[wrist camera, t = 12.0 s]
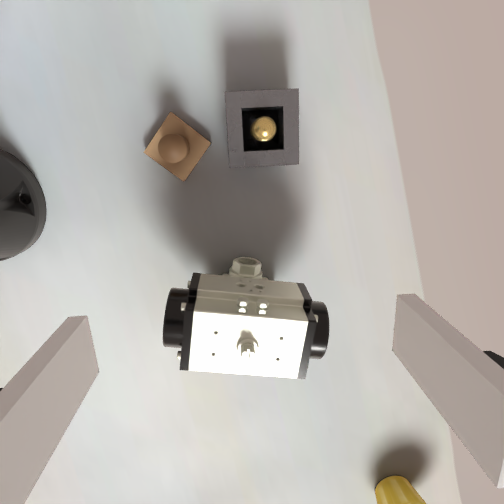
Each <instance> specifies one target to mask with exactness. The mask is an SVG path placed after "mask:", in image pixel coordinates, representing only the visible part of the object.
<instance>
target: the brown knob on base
mask: <svg viewBox="0 0 504 504" xmlns="http://www.w3.org/2000/svg"><path fill="white" fill-rule="evenodd" d="M210 144H211V142H210V141H208V140H207V139H206V138H204V137H203V136H202V135H201V134H199V133H198V132H197V131H195V130H194V129H193V128H192V127H190V126H189V125H188V124H186V123H185V122H184V121H183V120H181V119H180V118H179V117H177V116H176V115H175V114H174V113H172V112H170V113H169V115H168V116H167V118H166V119H165V121H164V122H163V124H162V125H161V127H160V128H159V130H158V131H157V133H156V134H155V136H154V137H153V139H152V140H151V142H150V144H149V145H148V147H147V148H146V150H145V151H144V153H145V154H146V155H148V156H149V157H151V158H152V159H153V160H155V161H156V162H157V163H159V164H160V165H161V166H163V167H164V168H166V169H167V170H168V171H170V172H171V173H172V174H174V175H175V176H177V177H178V178H179V179H181V180H182V181H183V182H184V181H185V180H186V179H187V177H188V176H189V174H190V173H191V171H192V170H193V169H194V167H195V166H196V164H197V163H198V161H199V160H200V159H201V157H202V156H203V154H204V153H205V151H206V150H207V149H208V147H209V146H210Z"/></svg>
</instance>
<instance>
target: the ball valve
mask: <svg viewBox="0 0 504 504" xmlns="http://www.w3.org/2000/svg"><path fill="white" fill-rule="evenodd" d="M262 275H263V272H262V271H261V262H260V261H258V260H257V259H254V258H250V257H238V258H236V259H234V260H233V265H232V267H230V270H229V274H226V273H223V275H212V274H202V273H193V276H192V279H191V281H188V288H189V289H182V288H171V290H170V292H169V295H168V299H167V304H166V310H165V316H164V325H163V345H164V346H165V347H174V348H182V350H181V351H178V354H177V359H181V362H180V370H188V371H202V372H215V373H229V374H242V375H256V376H269V377H283V378H296V379H305V377H306V372H307V369H308V363H309V358H312V359H321V358H322V357H323V356H324V354H325V352H326V349H327V345H328V339H329V316H328V311H327V308H326V305H325V304H324V303H323V302H318V301H312V299H311V297H310V295H309V293H308V291H307V289H306V287H305V285H304V284H303V283H293V282H283V281H273V280H268V278H265V277H262Z"/></svg>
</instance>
